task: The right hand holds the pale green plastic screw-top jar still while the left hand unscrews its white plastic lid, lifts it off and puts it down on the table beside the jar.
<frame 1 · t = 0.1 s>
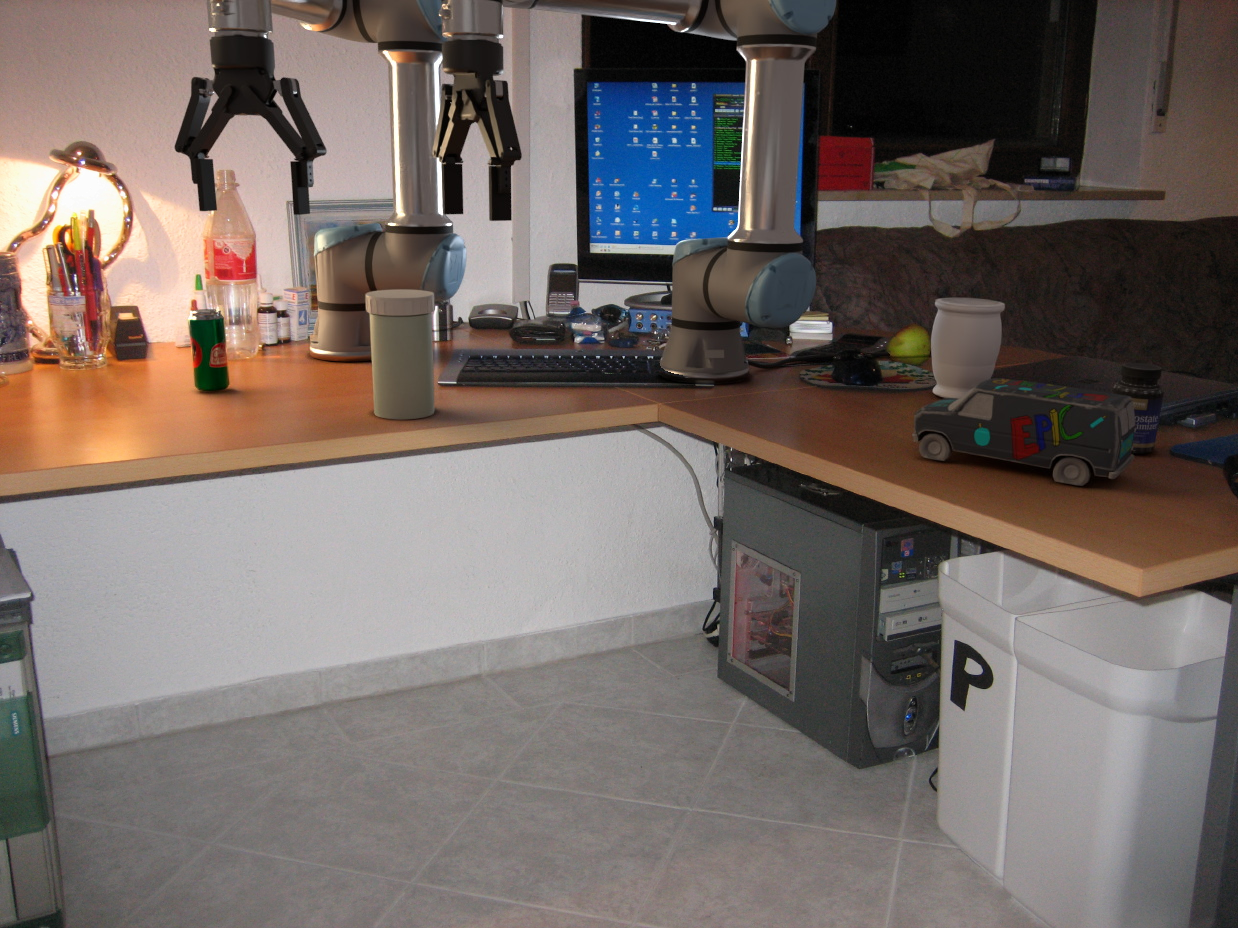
left hand: (254, 213, 138), 28 cm above the table, tool pointing down, fingers open, 13 cm apart
right hand: (475, 217, 138), 28 cm above the table, tool pointing down, fingers open, 13 cm apart
jar: (959, 396, 170), on the table
pill bottle: (1128, 449, 141), on the table
screw-top jar: (404, 412, 153), on the table
lid: (400, 296, 148), point 17 cm above the table, screwed on, not yet turned
soda can: (212, 390, 165), on the table
toy van: (1016, 465, 133), on the table
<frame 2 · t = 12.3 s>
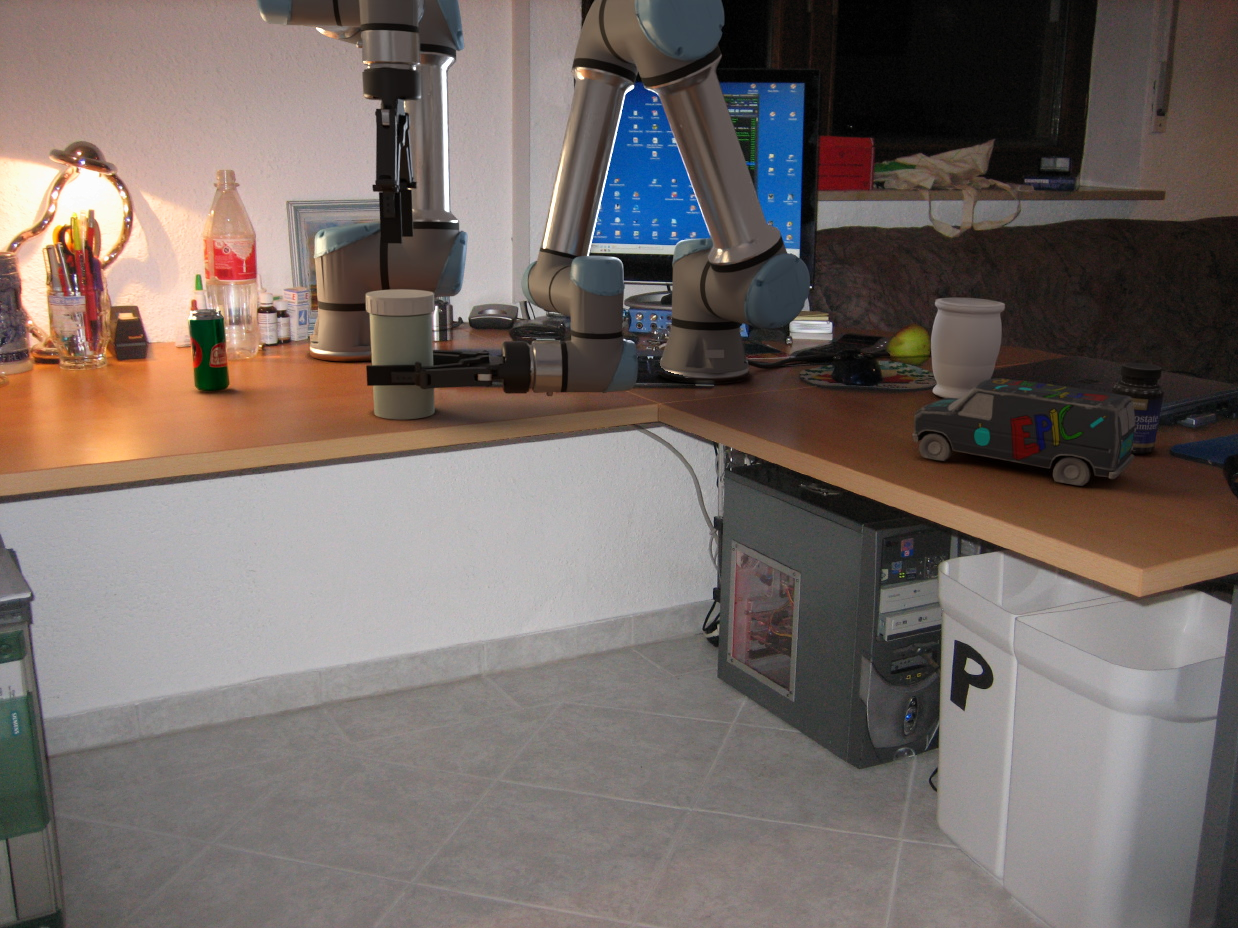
left hand: (397, 239, 146), 24 cm above the table, tool pointing down, fingers open, 11 cm apart
right hand: (369, 369, 151), 6 cm above the table, tool horizontal, fingers closed on screw-top jar, 8 cm apart
screw-top jar: (404, 412, 153), on the table, touching right hand
everything else where it was.
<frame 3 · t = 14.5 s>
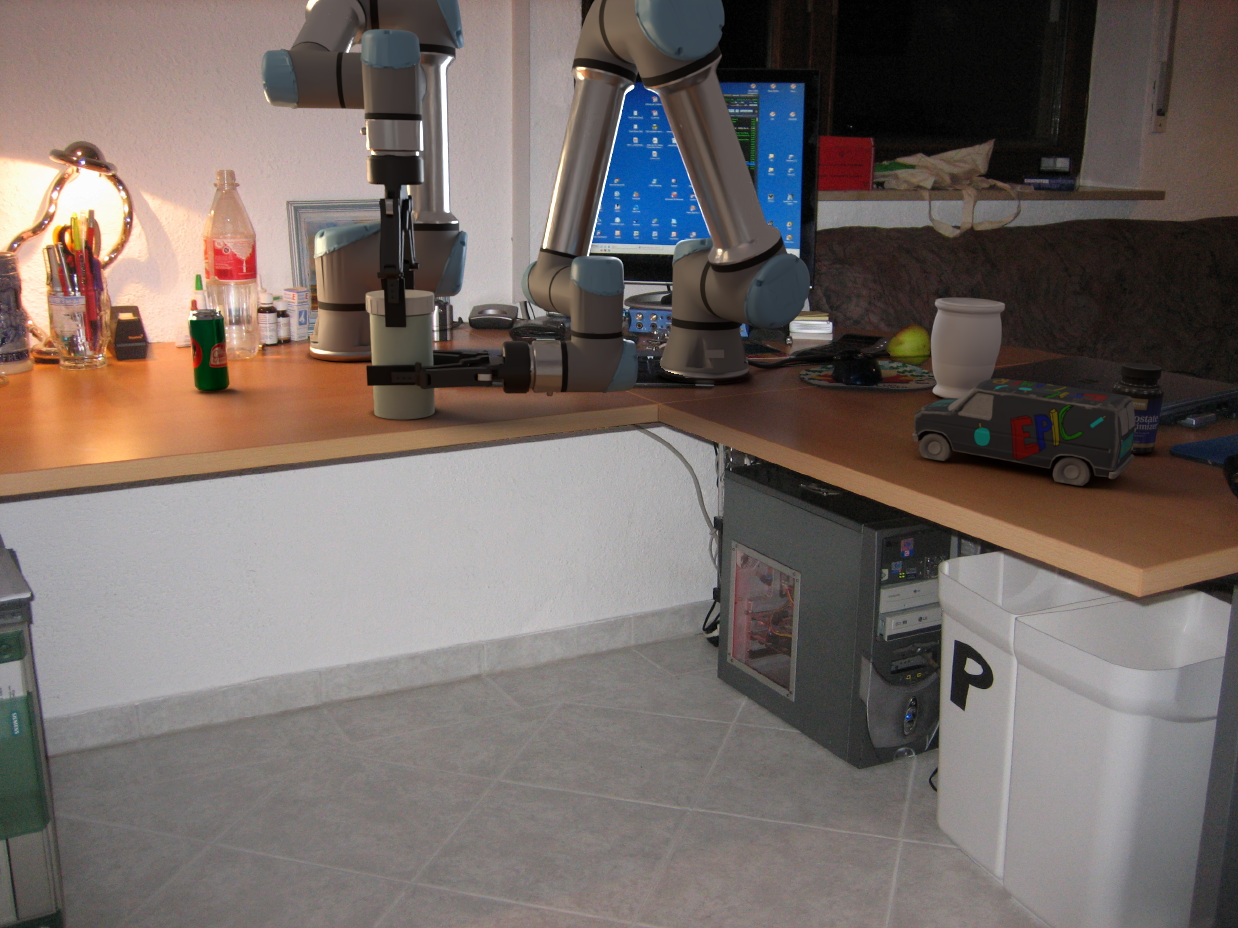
left hand: (401, 321, 149), 13 cm above the table, tool pointing down, fingers closed on lid, 9 cm apart
right hand: (369, 369, 151), 6 cm above the table, tool horizontal, fingers closed on screw-top jar, 8 cm apart
screw-top jar: (404, 412, 153), on the table, touching right hand
lid: (400, 296, 148), point 17 cm above the table, screwed on, not yet turned, touching left hand
everything else where it was.
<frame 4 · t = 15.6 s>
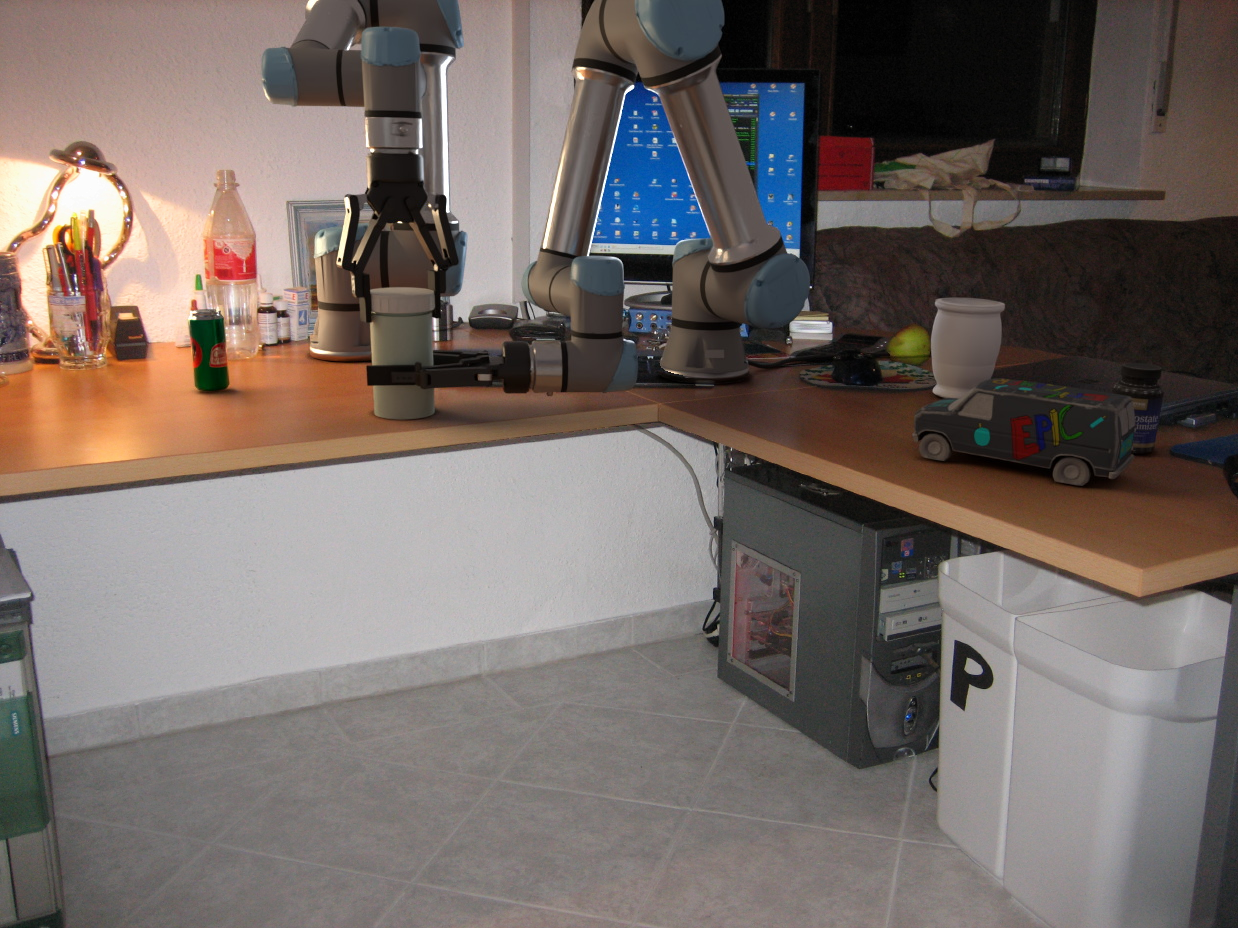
left hand: (401, 319, 149), 13 cm above the table, tool pointing down, fingers closed on lid, 9 cm apart
right hand: (369, 369, 151), 6 cm above the table, tool horizontal, fingers closed on screw-top jar, 8 cm apart
screw-top jar: (404, 412, 153), on the table, touching right hand
lid: (400, 294, 148), point 17 cm above the table, off its thread, touching left hand
everything else where it was.
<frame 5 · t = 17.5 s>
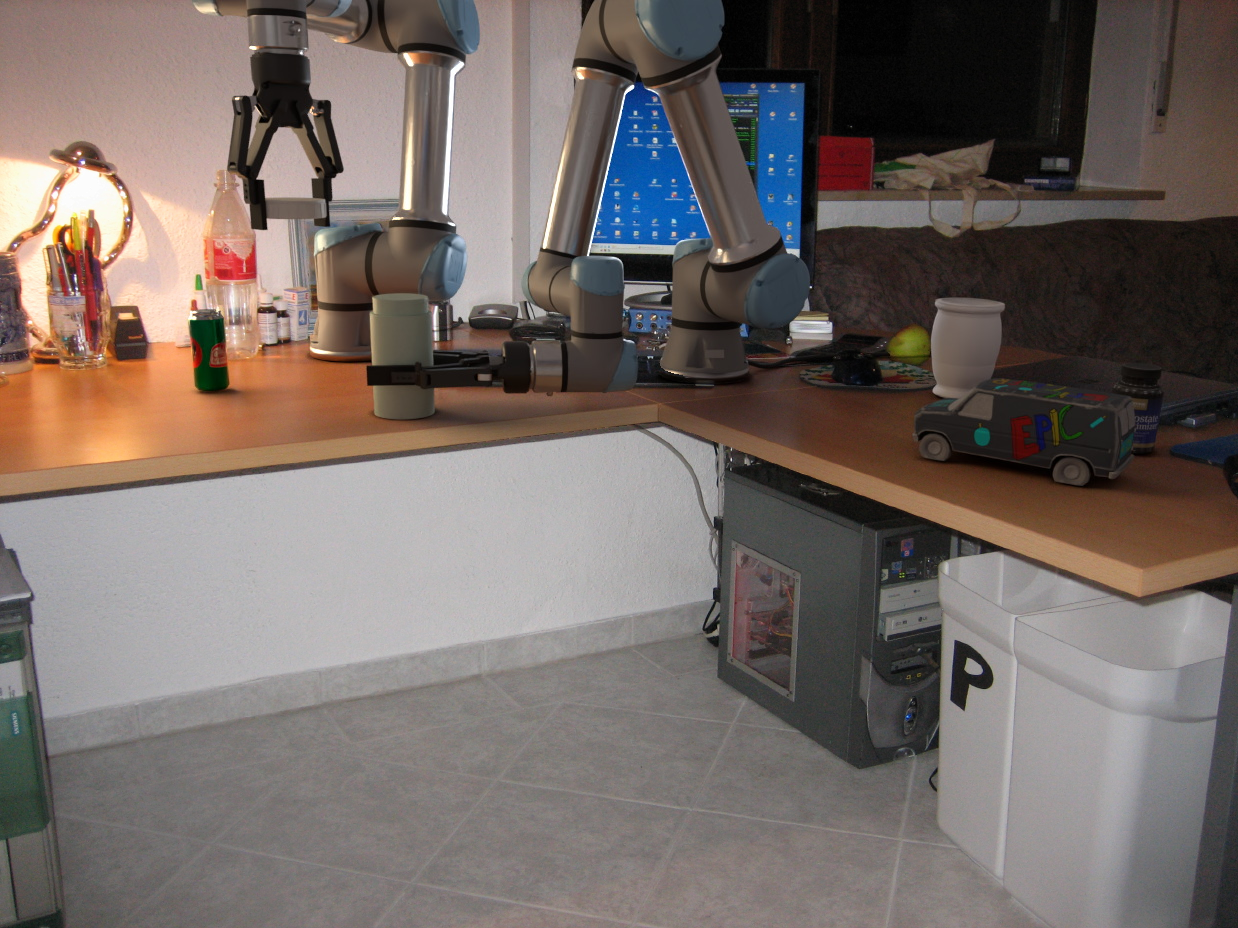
left hand: (291, 227, 147), 26 cm above the table, tool pointing down, fingers closed on lid, 9 cm apart
right hand: (369, 369, 151), 6 cm above the table, tool horizontal, fingers closed on screw-top jar, 8 cm apart
screw-top jar: (404, 412, 153), on the table, touching right hand
lid: (290, 201, 146), point 29 cm above the table, off its thread, touching left hand
everything else where it was.
when the left hand's fingers open (0 cm above the table, at t = 21.7 s): lid drops 2 cm, point 2 cm above the table.
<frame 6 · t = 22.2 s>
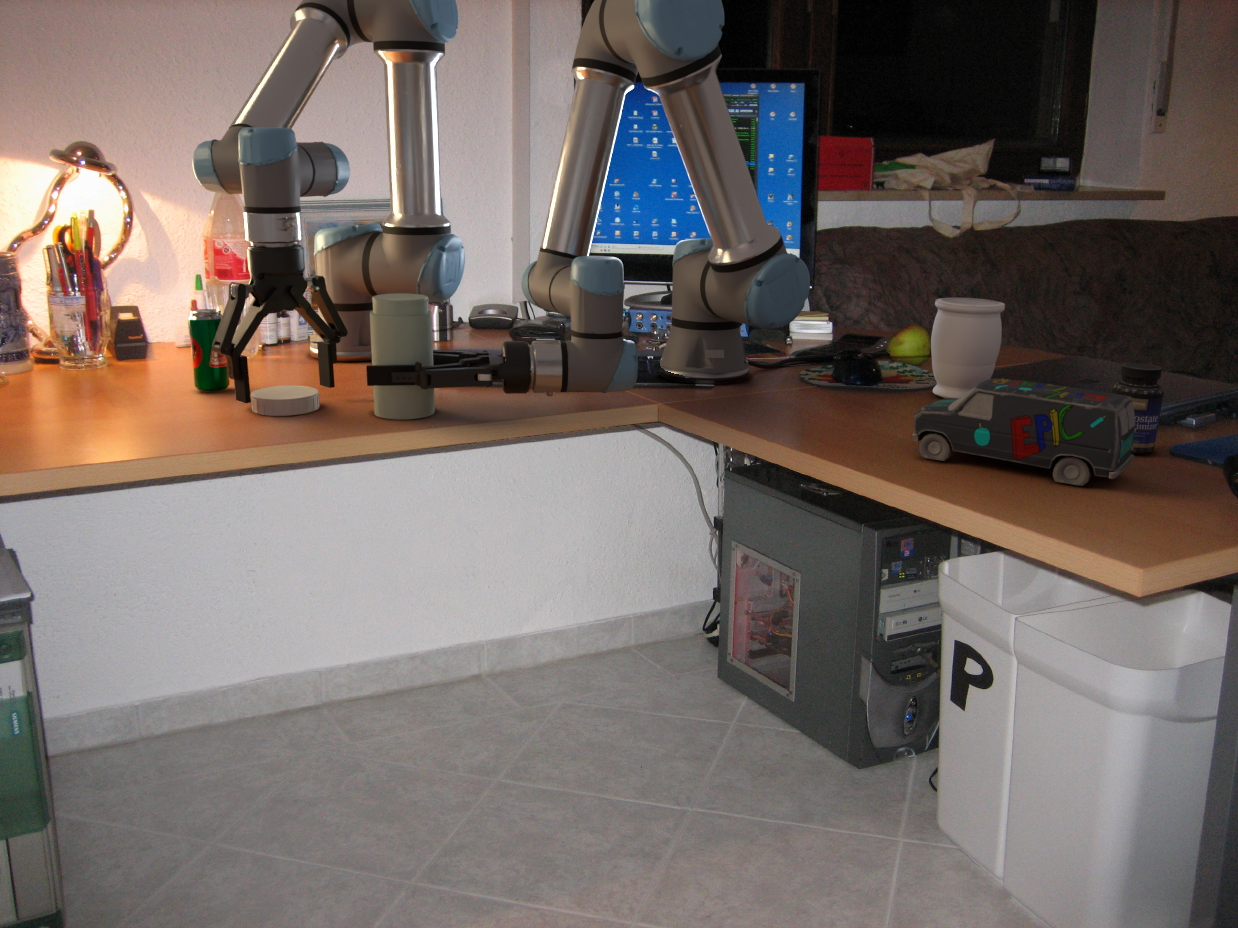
left hand: (286, 393, 154), 2 cm above the table, tool pointing down, fingers open, 13 cm apart
right hand: (369, 369, 150), 6 cm above the table, tool horizontal, fingers closed on screw-top jar, 8 cm apart
screw-top jar: (404, 412, 153), on the table, touching right hand
lid: (285, 394, 154), point 2 cm above the table, off its thread
everything else where it was.
when the right hand's fingers open (6 cm above the table, at t = 22.8 s): screw-top jar stays where it is, on the table.
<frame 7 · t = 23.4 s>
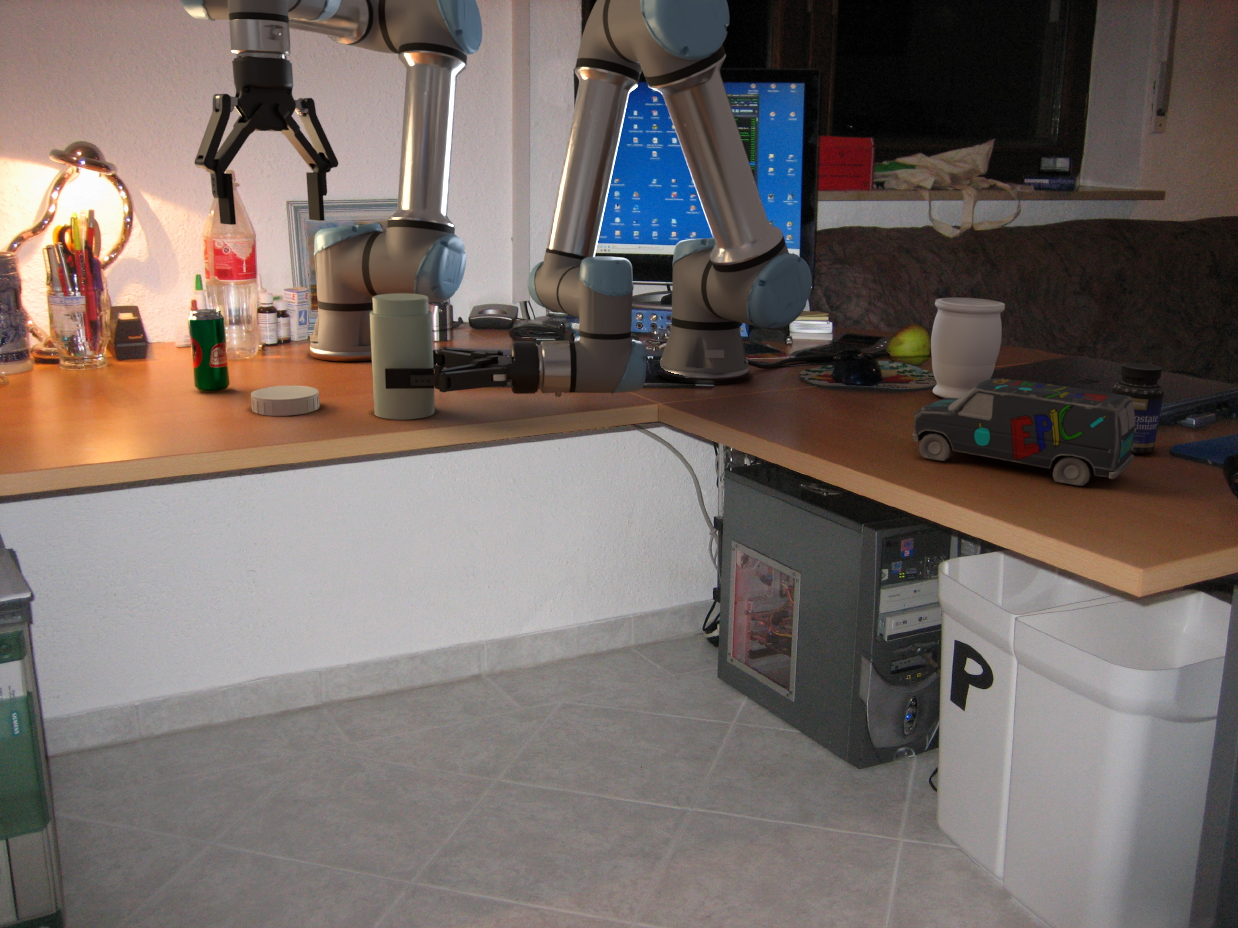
left hand: (274, 222, 147), 26 cm above the table, tool pointing down, fingers open, 13 cm apart
right hand: (388, 368, 151), 6 cm above the table, tool horizontal, fingers open, 13 cm apart
screw-top jar: (404, 412, 153), on the table
everything else where it was.
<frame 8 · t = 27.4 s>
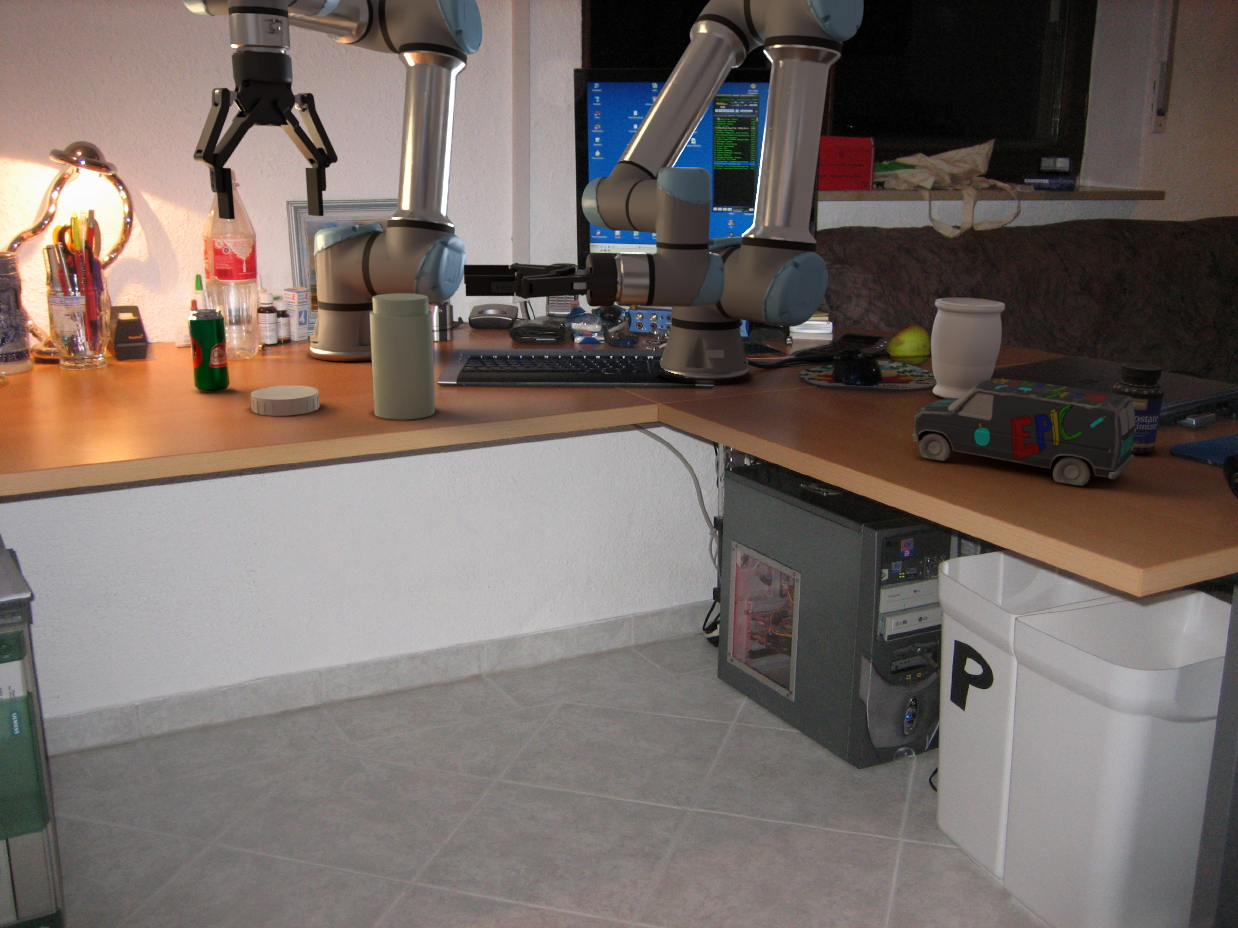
left hand: (273, 217, 147), 27 cm above the table, tool pointing down, fingers open, 13 cm apart
right hand: (464, 279, 149), 19 cm above the table, tool horizontal, fingers open, 13 cm apart
nothing on the table moved.
at the end: lid came off its thread; lid point 2.0 cm above the table; the left hand is holding nothing; the right hand is holding nothing; screw-top jar tilted 0°; screw-top jar moved 0.1 cm from its start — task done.
